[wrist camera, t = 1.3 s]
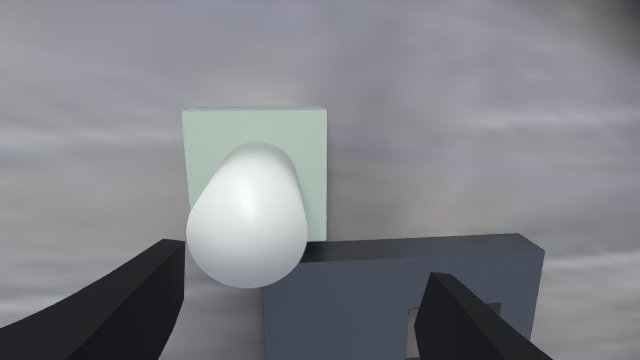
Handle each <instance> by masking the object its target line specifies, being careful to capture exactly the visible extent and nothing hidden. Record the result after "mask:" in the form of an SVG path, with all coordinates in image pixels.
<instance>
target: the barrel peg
mask: <svg viewBox="0 0 640 360" xmlns="http://www.w3.org/2000/svg"><path fill="white" fill-rule="evenodd" d="M186 233H187V243H188V247H189V250H190V253H191V255H192V257H193V259H194V260H195V262H196V263H197V265H198V266H199V267H200V268H201V269H202V270H203V271H204V272H205V273H206V274H207V275H208V276H210V277H211V278H213V279H214V280H216V281H218V282H220V283H222V284H225V285H228V286H232V287H236V288H259V287H263V286H267V285H269V284H272V283H274V282H276V281H278V280H280V279H282V278H283V277H285V276H286V275H287V274H288V273H290V272H291V271H292V270H293V269H294V268H295V266H296V265H297V264H298V262H299V261H300V259H301V257H302V255H303V253H304V251H305V248H306V244H307V236H308V230H307V222H306V217H305V212H304V207H303V202H302V196H301V191H300V186H299V181H298V176H297V171H296V168H295V165H294V163H293V161H292V160H291V158H290V157H289V156H288V154H287V153H286V152H284V151H283V150H282V149H281V148H279V147H277V146H275V145H273V144H270V143H267V142H259V141H255V142H248V143H245V144H242V145H240V146H238V147H236V148H234V149H233V150H232V151H231V152H230V153H228V155H227V156H226V157H225V158H224V160H223V162H222V163H221V165H220V166H219V168H218V169H217V171H216V172H215V174H214V176H213V177H212V179H211V180H210V182H209V183H208V185H207V186H206V188H205V190H204V191H203V193H202V194H201V196H200V197H199V199H198V200H197V202H196V204H195V205H194V207H193V208H192V211H191V213H190V215H189V219H188V222H187V230H186Z"/></svg>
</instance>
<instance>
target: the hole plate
mask: <svg viewBox="0 0 640 360" xmlns="http://www.w3.org/2000/svg"><path fill="white" fill-rule="evenodd" d="M544 254H545V250H543V249H542V248H540V247H539V246H537V245H536V244H534V243H532V242H531V241H529V240H528V239H526V238H525V237H523V236H522V235H520V234H519V233H517V234H495V235H472V236H450V237H428V238H406V239H383V240H361V241H339V242H316V243H307V244H306V248H305V251H304V253H303V255H302V257H301V259H300V261H299V262H298V264H297V265H296V266H295V268H294V269H293V270H292V271H291V272H290V273H288V274H287V275H286V276H285V277H283V278H282V279H280V280H278V281H276V282H274V283H272V284H269V285H267V286H263V308H264V330H265V352H266V360H420V358H408V359H405V356H406V341H407V327H408V312H409V308H420V304H421V301H422V298H423V295H424V292H425V289H426V285H427V282H428V279H429V276H430V273H431V272H438V273H446V274H451V275H453V276H454V277H455V278H457V279H458V280H459V281H460V282H461V283H463V284H464V285H465V286H466V287H467V288H468V289H469V290H471V291H472V292H473V293H474V294H475V295H476V296H477V297H478V298H479V299H481V300H482V301H483V302H484V303H485V304H486V305H487V306H488V307H490V308H491V309H492V310H493V311H494V312H495V313H496V314H497V315H499V316H500V317H501V318H502V319H503V320H504V321H506V322H507V323H508V324H509V325H510V326H511V327H513V328H514V329H515V330H516V331H517V332H519V333H520V334H521V335H522V336H523V337H525V338H526V339H527V340H528V341H530V337H531V331H532V325H533V320H534V314H535V308H536V302H537V296H538V290H539V284H540V278H541V272H542V266H543V260H544Z"/></svg>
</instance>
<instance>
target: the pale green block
mask: <svg viewBox="0 0 640 360" xmlns="http://www.w3.org/2000/svg"><path fill="white" fill-rule="evenodd" d="M181 117H182V128H183V138H184V149H185V159H186V170H187V180H188V191H189V201H190V212H191V211H192V208H193V207H194V205H195V204H196V202H197V200H198V199H199V197H200V196H201V194H202V193H203V191H204V190H205V188H206V186H207V185H208V183H209V182H210V180H211V179H212V177H213V176H214V174H215V172H216V171H217V169H218V168H219V166H220V165H221V163H222V162H223V160H224V158H225V157H226V156H227V155H228V153H230V152H231V151H232V150H233V149H234V148H236V147H238V146H240V145H242V144H245V143H248V142H255V141H259V142H267V143H270V144H273V145H275V146H277V147H279V148H281V149H282V150H283V151H284V152H286V153H287V154H288V156H289V157H290V158H291V160H292V161H293V163H294V165H295V168H296V171H297V176H298V181H299V186H300V191H301V196H302V202H303V207H304V212H305V217H306V222H307V230H308V236H307V241H326V197H327V110H326V109H325V108H323V107H250V108H189V109H186V110H184V111H181Z"/></svg>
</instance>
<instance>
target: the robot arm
mask: <svg viewBox="0 0 640 360" xmlns="http://www.w3.org/2000/svg"><path fill="white" fill-rule="evenodd" d="M184 271H185V241H178V240H170V239H162V240H161V241H159V242H157V243H156V244H154V245H153V246H151V247H150V248H148V249H147V250H145V251H143V252H142V253H140V254H139V255H137V256H136V257H134V258H133V259H131V260H130V261H128V262H127V263H125V264H123V265H122V266H120V267H119V268H117V269H115V270H114V271H112V272H111V273H109V274H107V275H106V276H104V277H102V278H101V279H99V280H97V281H95V282H94V283H92V284H90V285H88V286H87V287H85V288H83V289H81V290H80V291H78V292H76V293H74V294H73V295H71V296H69V297H67V298H65V299H63V300H61V301H59V302H57V303H55V304H53V305H51V306H49V307H47V308H45V309H43V310H41V311H39V312H37V313H35V314H33V315H30V316H28V317H26V318H24V319H22V320H19V321H17V322H15V323H12V324H10V325H7V326H5V327H3V328H0V360H158V359H159V357H160V355H161V353H162V351H163V349H164V347H165V345H166V343H167V341H168V339H169V337H170V335H171V333H172V331H173V328H174V325H175V323H176V320H177V317H178V314H179V312H180V309H181V306H182V303H183V300H184ZM414 328H415V334H416V340H417V345H418V350H419V355H420V360H553V359H552V358H550V357H549V356H548V355H546V354H545V353H544V352H542V351H541V350H540V349H538V348H537V347H536V346H535V345H533V344H532V343H531V342H530V341H528V340H527V339H526V338H525V337H523V336H522V335H521V334H520V333H519V332H517V331H516V330H515V329H514V328H513V327H511V326H510V325H509V324H508V323H507V322H506V321H504V320H503V319H502V318H501V317H500V316H499V315H497V314H496V313H495V312H494V311H493V310H492V309H491V308H490V307H488V306H487V305H486V304H485V303H484V302H483V301H482V300H481V299H479V298H478V297H477V296H476V295H475V294H474V293H473V292H472V291H471V290H469V289H468V288H467V287H466V286H465V285H464V284H463V283H461V282H460V281H459V280H458V279H457V278H455V277H454V276H453V275H451V274H446V273H438V272H431V273H430V276H429V279H428V282H427V285H426V289H425V292H424V295H423V298H422V301H421V304H420V308H419V311H418V314H417V317H416V320H415V324H414Z"/></svg>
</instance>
